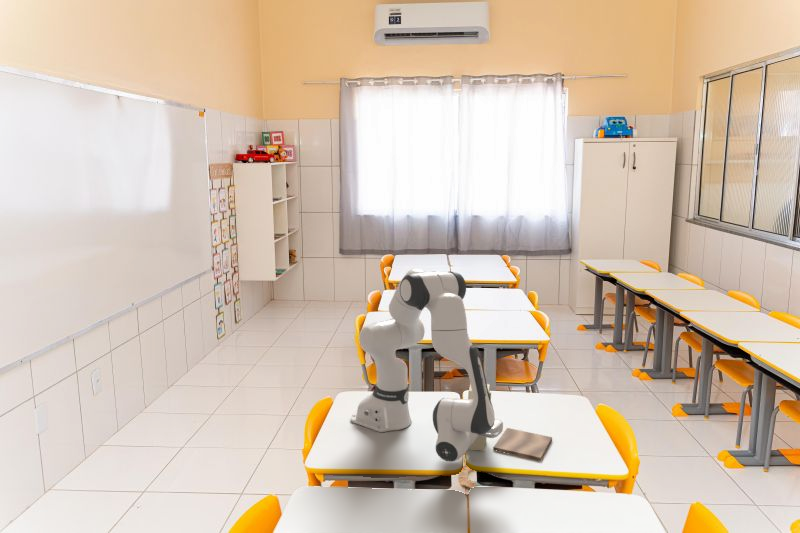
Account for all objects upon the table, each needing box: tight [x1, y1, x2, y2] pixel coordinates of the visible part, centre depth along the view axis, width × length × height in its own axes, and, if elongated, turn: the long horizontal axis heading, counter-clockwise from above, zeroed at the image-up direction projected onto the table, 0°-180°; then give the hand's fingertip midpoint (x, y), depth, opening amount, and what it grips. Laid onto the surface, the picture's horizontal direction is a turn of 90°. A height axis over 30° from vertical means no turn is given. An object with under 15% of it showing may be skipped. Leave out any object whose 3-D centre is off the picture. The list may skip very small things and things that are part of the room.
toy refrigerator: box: [467, 383, 492, 451], centre depth 213 cm, size 8×7×21 cm
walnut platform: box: [492, 427, 553, 462], centre depth 215 cm, size 16×16×1 cm
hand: (478, 414), depth 214 cm, fingers closed on toy refrigerator, 7 cm apart
